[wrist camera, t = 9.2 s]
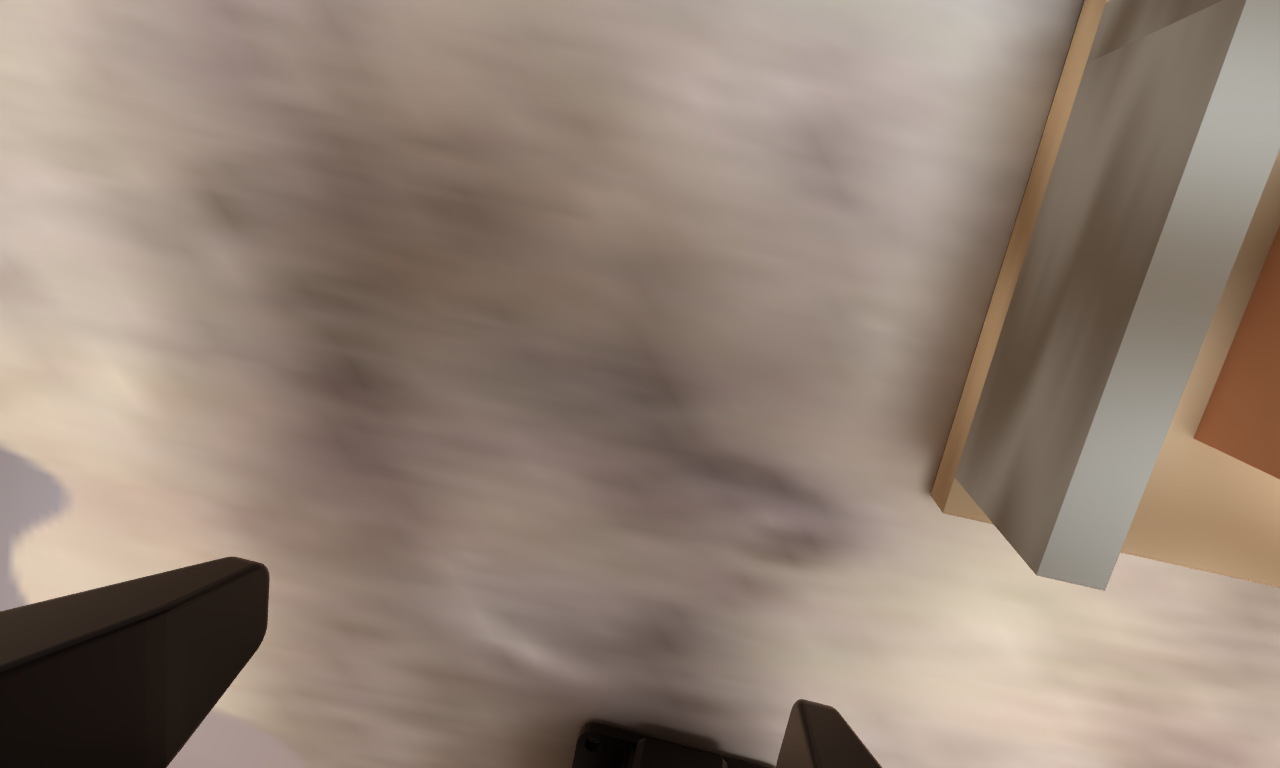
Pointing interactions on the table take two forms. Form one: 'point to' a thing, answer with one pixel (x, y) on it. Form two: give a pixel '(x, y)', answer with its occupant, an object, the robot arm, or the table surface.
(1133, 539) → the corner board
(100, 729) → the robot arm
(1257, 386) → the block
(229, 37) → the table surface
